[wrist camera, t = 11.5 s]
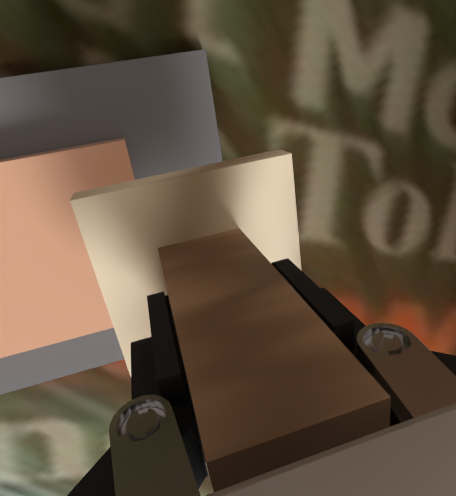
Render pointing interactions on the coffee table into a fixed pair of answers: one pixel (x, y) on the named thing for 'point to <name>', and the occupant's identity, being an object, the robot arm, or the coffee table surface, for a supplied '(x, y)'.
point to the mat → (102, 129)
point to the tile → (51, 245)
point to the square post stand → (230, 310)
